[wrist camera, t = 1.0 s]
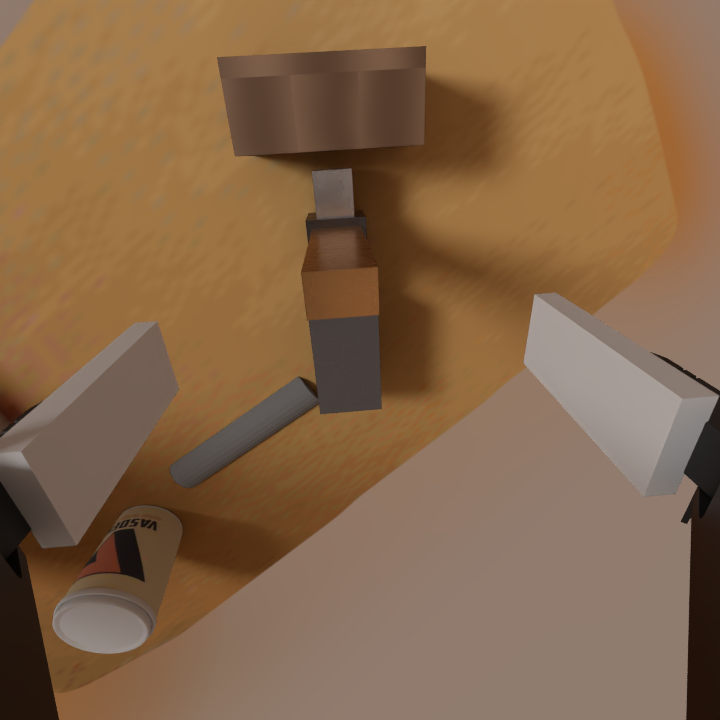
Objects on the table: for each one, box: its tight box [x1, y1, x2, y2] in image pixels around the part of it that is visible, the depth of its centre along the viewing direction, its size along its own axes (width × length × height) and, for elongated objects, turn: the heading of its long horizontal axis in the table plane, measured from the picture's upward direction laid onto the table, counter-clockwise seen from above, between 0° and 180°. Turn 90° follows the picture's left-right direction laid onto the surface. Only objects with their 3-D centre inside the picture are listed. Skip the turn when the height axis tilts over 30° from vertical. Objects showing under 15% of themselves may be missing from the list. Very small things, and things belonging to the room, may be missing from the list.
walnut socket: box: [217, 46, 426, 156], centre depth 27 cm, size 12×5×7 cm, turn 93°
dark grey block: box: [309, 315, 382, 414], centre depth 36 cm, size 6×10×6 cm, turn 3°
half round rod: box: [170, 377, 319, 488], centre depth 43 cm, size 4×20×2 cm, turn 126°
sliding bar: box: [301, 167, 379, 320], centre depth 28 cm, size 4×20×16 cm, turn 3°
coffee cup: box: [53, 505, 183, 653], centre depth 44 cm, size 9×9×12 cm
